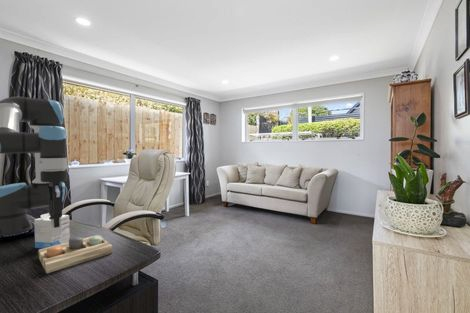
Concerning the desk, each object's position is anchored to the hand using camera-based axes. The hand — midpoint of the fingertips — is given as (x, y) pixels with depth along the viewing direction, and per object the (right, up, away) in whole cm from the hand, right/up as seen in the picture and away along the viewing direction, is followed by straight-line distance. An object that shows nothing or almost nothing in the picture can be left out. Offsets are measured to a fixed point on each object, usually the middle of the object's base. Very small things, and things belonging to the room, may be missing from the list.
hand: (56, 235), depth 83 cm
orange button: (0, -8, 0) cm, 8 cm away
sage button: (+8, -7, +9) cm, 15 cm away
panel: (+4, -9, +5) cm, 11 cm away
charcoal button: (+4, -6, +5) cm, 8 cm away
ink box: (-13, -9, +15) cm, 21 cm away
